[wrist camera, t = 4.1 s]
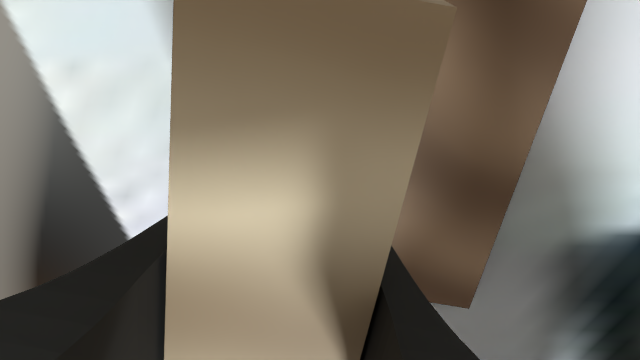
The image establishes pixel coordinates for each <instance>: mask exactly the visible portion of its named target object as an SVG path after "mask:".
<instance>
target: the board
mask: <svg viewBox="0 0 640 360" xmlns="http://www.w3.org/2000/svg"><path fill="white" fill-rule="evenodd" d="M444 1H446V2H448V3H450V4H452V5H454V6H455V7H457V10H456V13H455V17H454V21H453V24H452V28H451V31H450V35H449V39H448V42H447V46H446V49H445V53H444V57H443V60H442V64H441V68H440V71H439V75H438V78H437V82H436V86H435V89H434V93H433V96H432V100H431V104H430V107H429V111H428V115H427V118H426V122H425V125H424V129H423V133H422V136H421V140H420V144H419V147H418V151H417V154H416V158H415V162H414V165H413V169H412V172H411V176H410V180H409V183H408V187H407V191H406V194H405V198H404V201H403V205H402V209H401V212H400V216H399V219H398V223H397V227H396V230H395V234H394V238H393V241H392V245H391V246H392V247H393V249H394V250H395V252H396V253H397V255H398V256H399V258H400V259H401V261H402V263H403V264H404V266H405V267H406V269H407V270H408V272H409V273H410V275H411V276H412V278H413V280H414V281H415V282H416V284H417V285H418V287H419V288H420V290H421V291H422V293H423V294H424V295H425V297H426V298H427V300H428V301H429V302H432V303H438V304H444V305H450V306H456V307H462V308H468V309H469V307H470V305H471V302H472V299H473V297H474V294H475V292H476V289H477V286H478V284H479V281H480V279H481V276H482V273H483V271H484V268H485V265H486V263H487V260H488V258H489V255H490V252H491V250H492V247H493V245H494V242H495V239H496V237H497V234H498V231H499V229H500V226H501V224H502V221H503V218H504V216H505V213H506V211H507V208H508V205H509V203H510V200H511V198H512V195H513V192H514V190H515V187H516V184H517V182H518V179H519V177H520V174H521V171H522V169H523V166H524V164H525V161H526V158H527V156H528V153H529V151H530V148H531V145H532V143H533V140H534V137H535V135H536V132H537V130H538V127H539V124H540V122H541V119H542V117H543V114H544V111H545V109H546V106H547V103H548V101H549V98H550V96H551V93H552V90H553V88H554V85H555V83H556V80H557V77H558V75H559V72H560V70H561V67H562V64H563V62H564V59H565V56H566V54H567V51H568V49H569V46H570V43H571V41H572V38H573V36H574V33H575V30H576V28H577V25H578V23H579V20H580V17H581V15H582V12H583V9H584V7H585V4H586V2H587V0H444Z"/></svg>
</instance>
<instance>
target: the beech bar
mask: <svg viewBox="0 0 640 360" xmlns="http://www.w3.org/2000/svg"><path fill="white" fill-rule="evenodd" d="M456 10H457V7H455V6H454V5H452V4H450V3H448V2H446V1H444V0H174V6H173V44H172V81H171V119H170V157H169V195H168V232H167V270H166V308H165V346H164V360H360V357H361V353H362V350H363V346H364V342H365V339H366V335H367V332H368V328H369V324H370V321H371V317H372V313H373V310H374V306H375V303H376V299H377V295H378V292H379V288H380V285H381V281H382V277H383V274H384V270H385V266H386V263H387V259H388V256H389V252H390V248H391V245H392V241H393V238H394V234H395V230H396V227H397V223H398V219H399V216H400V212H401V209H402V205H403V201H404V198H405V194H406V191H407V187H408V183H409V180H410V176H411V172H412V169H413V165H414V162H415V158H416V154H417V151H418V147H419V144H420V140H421V136H422V133H423V129H424V125H425V122H426V118H427V115H428V111H429V107H430V104H431V100H432V96H433V93H434V89H435V86H436V82H437V78H438V75H439V71H440V68H441V64H442V60H443V57H444V53H445V49H446V46H447V42H448V39H449V35H450V31H451V28H452V24H453V21H454V17H455V13H456Z"/></svg>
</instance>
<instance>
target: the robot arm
mask: <svg viewBox="0 0 640 360" xmlns="http://www.w3.org/2000/svg"><path fill="white" fill-rule="evenodd" d="M167 232H168V216H166V217H165V218H163V219H161V220H160V221H158V222H157V223H155V224H154V225H152V226H151V227H149V228H148V229H146V230H144V231H143V232H141V233H140V234H138V235H136V236H135V237H133V238H132V239H130V240H128V241H127V242H125V243H123V244H122V245H120V246H119V247H116V248H115V249H113V250H111V251H109V252H107V253H106V254H104V255H102V256H100V257H98V258H97V259H95V260H93V261H91V262H89V263H87V264H86V265H84V266H82V267H80V268H78V269H76V270H73V271H71V272H69V273H67V274H65V275H63V276H60V277H58V278H56V279H54V280H52V281H49V282H47V283H44V284H42V285H40V286H38V287H35V288H32V289H29V290H27V291H24V292H21V293H18V294H16V295H13V296H10V297H7V298H5V299H2V300H0V360H164V346H165V308H166V270H167ZM360 360H480V359H479V358H478V357H477V356H476V355H475V354H474V353H473V352H472V351H471V350H470V349H469V348H468V347H467V346H466V345H465V344H464V343H463V342H462V341H461V340H460V339H459V337H458V336H457V335H456V334H455V333H454V332H453V331H452V330H451V328H450V327H449V326H448V325H447V324H446V322H445V321H444V320H443V319H442V317H441V316H440V315H439V314H438V313H437V311H436V310H435V309H434V308H433V306H432V305H431V304H430V302H429V301H428V300H427V298H426V297H425V295H424V294H423V293H422V291H421V290H420V288H419V287H418V285H417V284H416V282H415V281H414V280H413V278H412V276H411V275H410V273H409V272H408V270H407V269H406V267H405V266H404V264H403V263H402V261H401V259H400V258H399V256H398V255H397V253H396V252H395V250H394V249H393V247H392V246H391V248H390V252H389V256H388V259H387V263H386V266H385V270H384V274H383V277H382V281H381V285H380V288H379V292H378V295H377V299H376V303H375V306H374V310H373V313H372V317H371V321H370V324H369V328H368V332H367V335H366V339H365V342H364V346H363V350H362V353H361V357H360Z"/></svg>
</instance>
